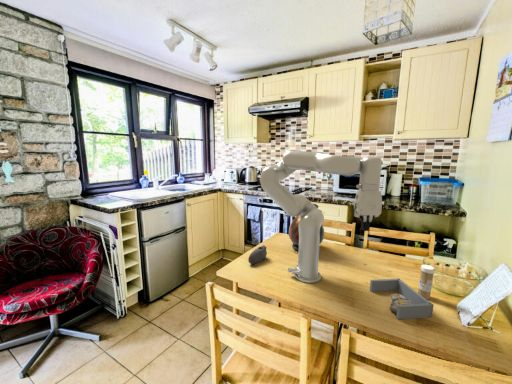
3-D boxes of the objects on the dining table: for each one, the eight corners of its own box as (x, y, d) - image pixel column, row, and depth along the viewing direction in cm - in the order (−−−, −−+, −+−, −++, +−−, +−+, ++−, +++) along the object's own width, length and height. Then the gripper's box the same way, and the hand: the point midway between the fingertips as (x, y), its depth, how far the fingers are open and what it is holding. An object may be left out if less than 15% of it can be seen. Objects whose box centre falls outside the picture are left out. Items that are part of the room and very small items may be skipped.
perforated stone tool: (252, 267, 124) (252, 254, 123) (244, 264, 128) (244, 252, 127) (269, 257, 136) (269, 246, 135) (262, 255, 139) (262, 243, 138)
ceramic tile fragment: (385, 289, 100) (413, 294, 97) (385, 296, 101) (412, 302, 97) (390, 307, 89) (422, 314, 86) (389, 315, 90) (421, 322, 86)
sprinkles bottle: (414, 293, 103) (418, 264, 101) (424, 292, 103) (428, 263, 101) (423, 299, 98) (427, 269, 96) (433, 299, 99) (437, 269, 97)
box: (398, 319, 87) (399, 307, 86) (369, 290, 105) (370, 279, 104) (431, 317, 88) (433, 304, 87) (397, 288, 106) (399, 278, 105)
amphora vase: (327, 246, 153) (330, 203, 148) (317, 259, 134) (320, 210, 130) (295, 239, 163) (297, 199, 159) (282, 250, 145) (283, 205, 140)
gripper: (356, 189, 94) (352, 233, 97) (392, 188, 95) (387, 232, 99) (347, 186, 101) (344, 227, 105) (380, 186, 103) (376, 226, 106)
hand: (365, 230), depth 102 cm, fingers closed
